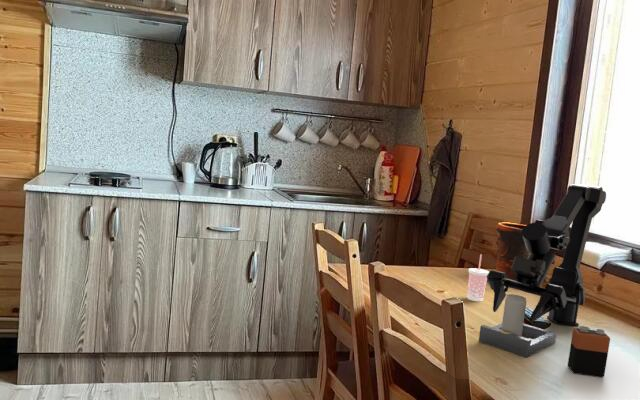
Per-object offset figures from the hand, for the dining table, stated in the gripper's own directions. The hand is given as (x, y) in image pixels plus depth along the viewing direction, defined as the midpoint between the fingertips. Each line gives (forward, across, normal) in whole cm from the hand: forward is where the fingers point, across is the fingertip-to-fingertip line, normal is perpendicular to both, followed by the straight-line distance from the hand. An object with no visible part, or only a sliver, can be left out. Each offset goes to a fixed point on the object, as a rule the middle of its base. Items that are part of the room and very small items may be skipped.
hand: (511, 316), depth 148 cm
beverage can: (+4, 0, +7) cm, 8 cm away
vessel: (-44, -32, +55) cm, 78 cm away
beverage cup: (-18, -26, +29) cm, 43 cm away
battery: (+5, +18, +6) cm, 20 cm away
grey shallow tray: (+2, 0, +9) cm, 9 cm away
